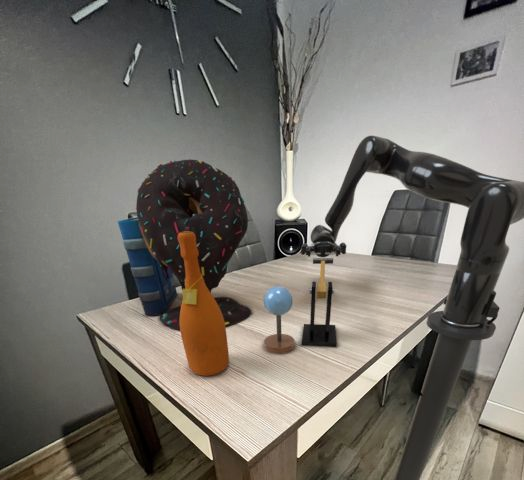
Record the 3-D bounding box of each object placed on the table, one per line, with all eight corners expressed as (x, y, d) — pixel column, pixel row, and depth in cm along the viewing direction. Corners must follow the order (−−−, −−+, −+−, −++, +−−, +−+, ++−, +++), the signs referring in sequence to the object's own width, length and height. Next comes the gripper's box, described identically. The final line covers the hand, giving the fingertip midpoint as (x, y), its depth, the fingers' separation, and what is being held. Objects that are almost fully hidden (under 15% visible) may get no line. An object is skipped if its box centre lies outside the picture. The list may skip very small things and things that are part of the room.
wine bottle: (183, 364, 67) (151, 232, 52) (218, 351, 71) (199, 226, 56) (199, 383, 60) (168, 237, 45) (237, 367, 64) (221, 230, 49)
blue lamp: (297, 340, 74) (298, 282, 66) (289, 355, 68) (289, 293, 60) (270, 337, 77) (267, 281, 69) (259, 351, 71) (255, 291, 62)
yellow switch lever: (313, 263, 78) (313, 255, 76) (332, 262, 77) (333, 255, 75) (310, 298, 70) (310, 291, 68) (332, 298, 69) (333, 291, 67)
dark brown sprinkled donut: (264, 320, 87) (255, 146, 65) (159, 339, 79) (106, 149, 57) (242, 293, 112) (229, 160, 89) (160, 305, 104) (123, 163, 82)
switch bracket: (304, 327, 81) (305, 278, 74) (335, 328, 80) (339, 278, 72) (301, 345, 72) (302, 291, 65) (336, 347, 70) (341, 291, 63)
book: (168, 315, 95) (144, 219, 80) (142, 317, 94) (113, 221, 80) (180, 293, 116) (163, 214, 101) (159, 295, 115) (139, 216, 101)
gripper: (303, 233, 97) (300, 240, 83) (345, 232, 94) (348, 239, 81) (303, 255, 101) (299, 265, 87) (343, 254, 98) (346, 265, 84)
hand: (323, 253), depth 84 cm, fingers open, 8 cm apart
